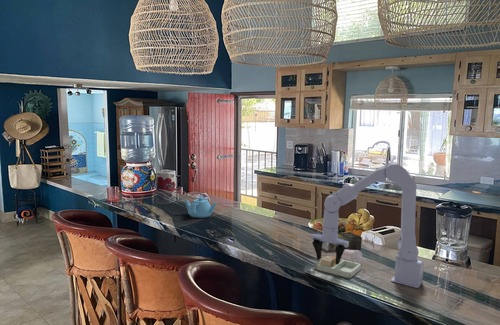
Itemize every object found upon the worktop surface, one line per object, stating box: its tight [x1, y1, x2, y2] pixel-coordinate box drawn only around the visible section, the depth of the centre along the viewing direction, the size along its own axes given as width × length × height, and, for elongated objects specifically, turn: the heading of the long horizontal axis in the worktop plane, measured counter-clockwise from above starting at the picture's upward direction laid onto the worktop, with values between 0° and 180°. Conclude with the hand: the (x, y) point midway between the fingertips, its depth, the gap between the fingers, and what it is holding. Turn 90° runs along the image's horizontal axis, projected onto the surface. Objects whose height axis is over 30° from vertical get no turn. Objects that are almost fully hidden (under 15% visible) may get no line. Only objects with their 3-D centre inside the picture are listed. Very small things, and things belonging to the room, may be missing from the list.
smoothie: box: [341, 249, 368, 265], centre depth 159 cm, size 6×6×14 cm
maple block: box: [320, 256, 335, 267], centre depth 150 cm, size 4×4×4 cm
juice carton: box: [322, 231, 363, 252], centre depth 180 cm, size 20×10×6 cm, turn 115°
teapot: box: [184, 196, 217, 219], centre depth 228 cm, size 15×15×11 cm
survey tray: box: [314, 255, 362, 279], centre depth 151 cm, size 14×12×3 cm
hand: (328, 261), depth 150 cm, fingers open, 7 cm apart
